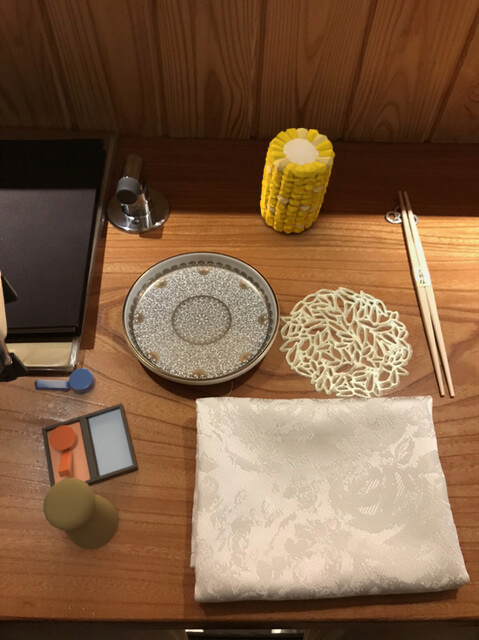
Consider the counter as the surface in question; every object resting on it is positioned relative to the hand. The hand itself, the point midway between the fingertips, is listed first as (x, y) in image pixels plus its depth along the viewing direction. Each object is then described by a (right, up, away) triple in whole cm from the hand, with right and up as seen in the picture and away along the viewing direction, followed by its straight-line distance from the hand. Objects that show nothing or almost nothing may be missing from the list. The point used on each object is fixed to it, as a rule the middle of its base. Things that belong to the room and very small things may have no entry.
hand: (8, 337), depth 61 cm
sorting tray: (+6, -15, +10) cm, 19 cm away
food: (+34, +19, +29) cm, 48 cm away
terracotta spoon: (+4, -15, +9) cm, 18 cm away
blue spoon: (+2, -7, +14) cm, 16 cm away
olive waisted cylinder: (+8, -22, +6) cm, 24 cm away
